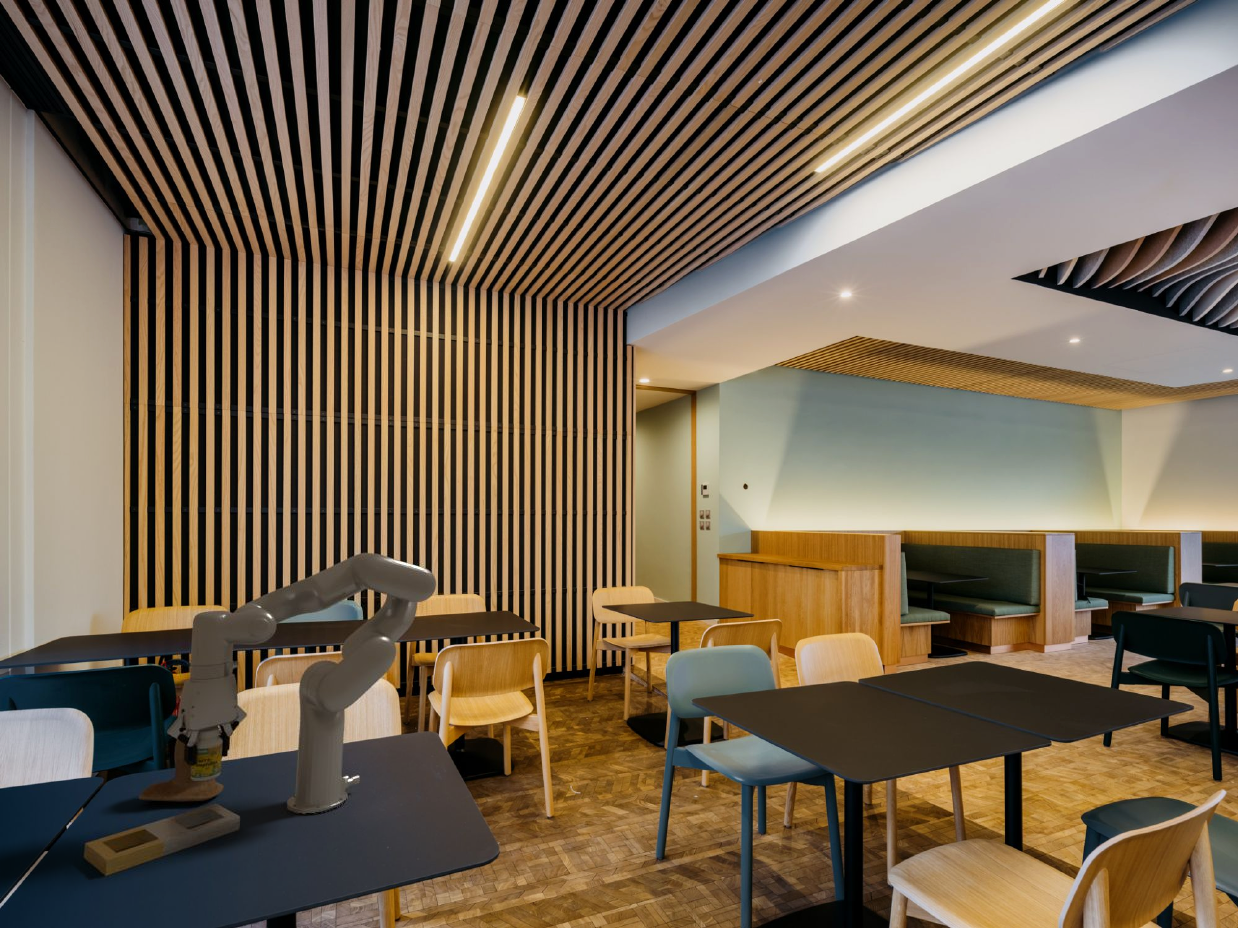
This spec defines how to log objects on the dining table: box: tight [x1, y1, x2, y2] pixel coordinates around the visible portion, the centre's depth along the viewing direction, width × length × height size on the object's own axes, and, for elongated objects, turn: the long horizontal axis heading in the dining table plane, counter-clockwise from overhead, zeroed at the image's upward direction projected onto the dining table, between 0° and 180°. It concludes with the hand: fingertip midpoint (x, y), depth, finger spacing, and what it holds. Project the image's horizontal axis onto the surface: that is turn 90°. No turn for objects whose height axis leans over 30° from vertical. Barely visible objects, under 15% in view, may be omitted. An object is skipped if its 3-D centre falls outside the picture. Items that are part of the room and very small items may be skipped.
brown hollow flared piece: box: [138, 729, 224, 802], centre depth 154 cm, size 15×12×15 cm
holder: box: [83, 803, 241, 877], centre depth 131 cm, size 23×11×3 cm, turn 145°
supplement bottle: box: [191, 726, 223, 781], centre depth 137 cm, size 5×5×10 cm
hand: (206, 758), depth 137 cm, fingers closed on supplement bottle, 5 cm apart
